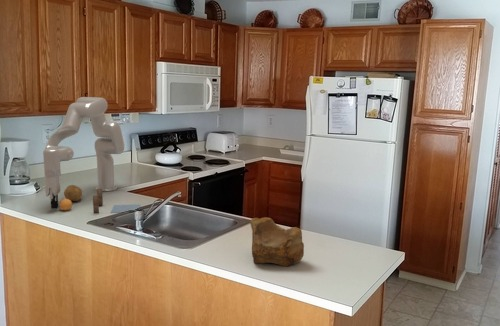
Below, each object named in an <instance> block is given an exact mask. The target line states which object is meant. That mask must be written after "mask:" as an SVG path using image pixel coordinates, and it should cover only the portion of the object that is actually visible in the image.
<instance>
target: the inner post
mask: <svg viewBox="0 0 500 326" xmlns="http://www.w3.org/2000/svg"><path fill="white" fill-rule="evenodd" d="M96 195H98V202H99V208H100V207H103V206H104V201H103V200H104V199H103V198H104V197H103V191H102V189H97V190H96Z"/></svg>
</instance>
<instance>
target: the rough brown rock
mask: <svg viewBox="0 0 500 326" xmlns="http://www.w3.org/2000/svg"><path fill="white" fill-rule="evenodd" d="M249 223H250V227H251V232H252V233H251V235H252V237H251V239H252V240H251V242H252V244H251V256H252V262H253V263H254V264H265V263H270V264H271V263H272V264H276V265H279V266H284V267H290V266H291V265H295V264H297V263H299V262H301V261H302V259H303V258H304V256H305V255H304V254H305V252H304V247H305V245H304V242H303V232H302V229H301V228H299V227H297V226H294V227H293V226H292V227H290V228H287V229H285V228H283V227H281V226H279V225H277V224H276V223H275V221H274V220H273V219H272V218H271V217H266V216H265V217H261V218H259V217H253V218H251V219H250V222H249Z"/></svg>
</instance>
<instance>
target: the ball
mask: <svg viewBox="0 0 500 326" xmlns="http://www.w3.org/2000/svg"><path fill="white" fill-rule="evenodd" d="M72 205H73V201H70V200H69V199H66V198H63V199H61V200H60V202H59V203H58V207H59V208H60V209H61V210H62V211H69V210H71V208H72Z"/></svg>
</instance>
